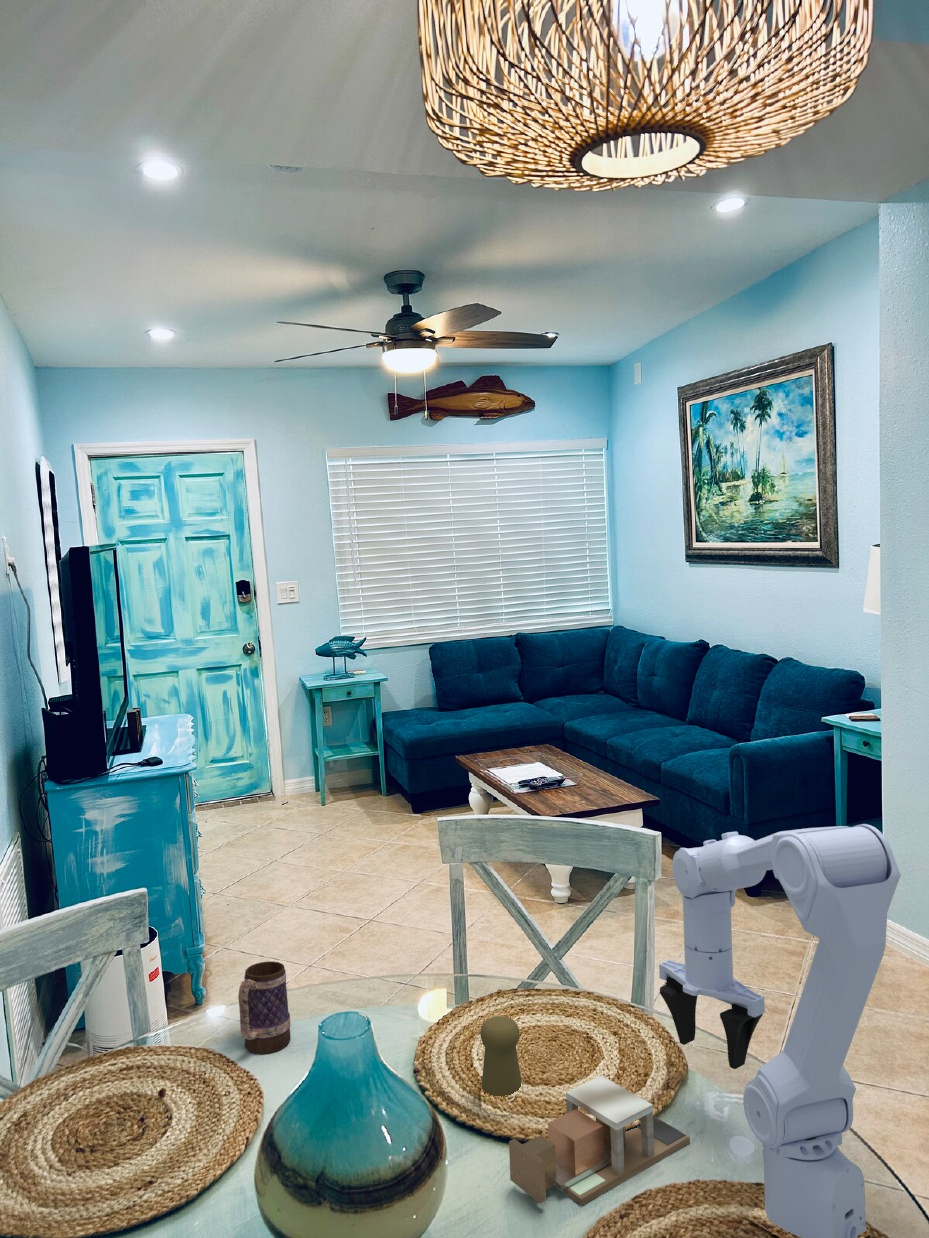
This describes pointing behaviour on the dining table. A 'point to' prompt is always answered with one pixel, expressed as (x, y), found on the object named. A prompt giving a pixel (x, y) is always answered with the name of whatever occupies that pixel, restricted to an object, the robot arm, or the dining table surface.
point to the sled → (561, 1154)
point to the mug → (264, 1008)
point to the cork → (500, 1056)
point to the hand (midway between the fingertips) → (711, 1053)
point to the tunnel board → (621, 1136)
